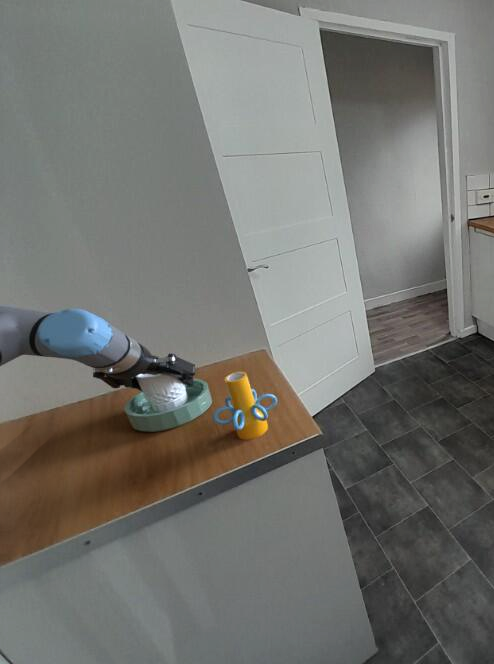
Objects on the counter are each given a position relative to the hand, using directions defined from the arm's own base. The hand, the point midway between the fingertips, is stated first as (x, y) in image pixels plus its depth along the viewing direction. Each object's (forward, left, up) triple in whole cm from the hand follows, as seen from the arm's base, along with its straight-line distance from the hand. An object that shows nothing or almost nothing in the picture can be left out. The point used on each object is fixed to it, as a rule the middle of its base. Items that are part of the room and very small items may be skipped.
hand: (170, 384), depth 100 cm
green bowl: (0, -3, -6) cm, 7 cm away
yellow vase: (+20, -16, -6) cm, 27 cm away
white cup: (0, -3, -4) cm, 5 cm away
